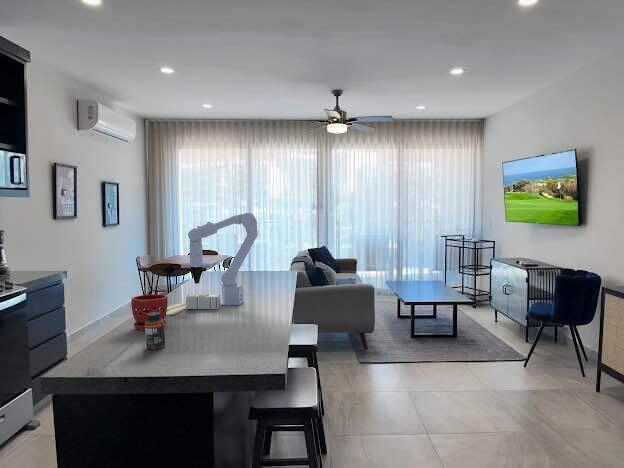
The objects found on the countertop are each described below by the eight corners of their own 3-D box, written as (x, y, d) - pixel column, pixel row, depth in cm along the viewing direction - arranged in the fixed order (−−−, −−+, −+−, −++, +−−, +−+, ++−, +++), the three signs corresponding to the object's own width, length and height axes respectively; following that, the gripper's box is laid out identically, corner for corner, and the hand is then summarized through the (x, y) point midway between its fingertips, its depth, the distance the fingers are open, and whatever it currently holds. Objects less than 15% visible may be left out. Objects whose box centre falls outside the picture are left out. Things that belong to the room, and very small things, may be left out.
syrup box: (185, 309, 202) (218, 309, 203) (185, 296, 202) (218, 296, 203) (188, 306, 208) (220, 306, 209) (188, 293, 207) (220, 294, 208)
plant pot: (157, 332, 168) (155, 300, 167) (125, 331, 171) (123, 299, 170) (175, 323, 181) (173, 293, 180) (145, 322, 183) (143, 293, 183)
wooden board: (195, 305, 213) (194, 304, 213) (174, 315, 193) (173, 314, 193) (171, 305, 215) (171, 303, 215) (148, 315, 196) (148, 313, 196)
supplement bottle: (159, 343, 153) (157, 310, 153) (169, 346, 149) (167, 312, 149) (142, 348, 149) (140, 314, 148) (152, 351, 145) (150, 316, 144)
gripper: (177, 255, 209) (178, 284, 209) (207, 255, 206) (208, 285, 206) (184, 253, 215) (185, 281, 216) (213, 253, 213) (214, 282, 213)
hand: (197, 283), depth 212 cm, fingers closed
